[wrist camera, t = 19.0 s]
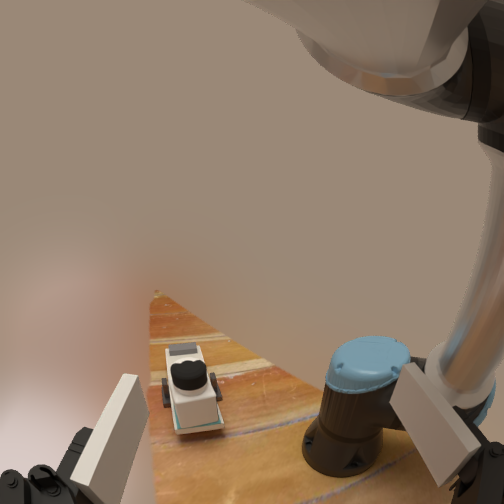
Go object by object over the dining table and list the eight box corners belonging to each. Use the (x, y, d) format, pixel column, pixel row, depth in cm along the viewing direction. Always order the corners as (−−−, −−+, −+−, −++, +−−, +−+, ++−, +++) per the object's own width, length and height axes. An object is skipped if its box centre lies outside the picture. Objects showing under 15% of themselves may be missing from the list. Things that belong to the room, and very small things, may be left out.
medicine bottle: (219, 421, 43) (214, 373, 40) (181, 429, 40) (169, 381, 37) (208, 397, 49) (203, 349, 46) (173, 404, 47) (163, 356, 44)
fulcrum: (162, 390, 56) (158, 373, 55) (216, 384, 60) (215, 367, 59) (164, 407, 51) (159, 390, 50) (222, 400, 55) (221, 383, 53)
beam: (166, 353, 66) (164, 344, 66) (199, 350, 69) (198, 340, 68) (176, 434, 41) (173, 424, 40) (224, 427, 43) (223, 417, 42)
